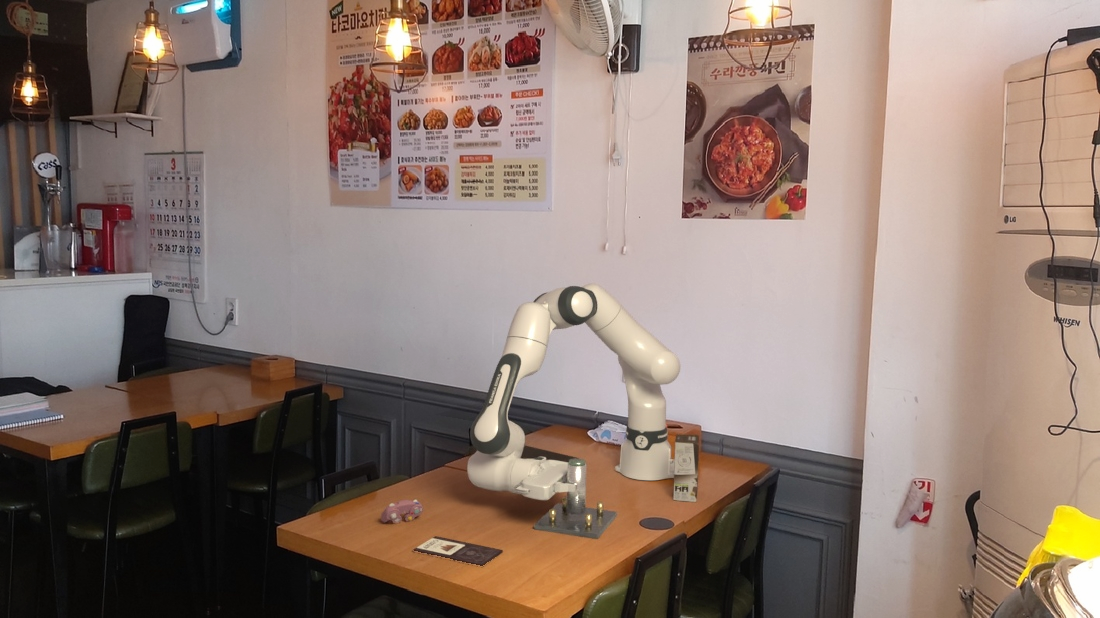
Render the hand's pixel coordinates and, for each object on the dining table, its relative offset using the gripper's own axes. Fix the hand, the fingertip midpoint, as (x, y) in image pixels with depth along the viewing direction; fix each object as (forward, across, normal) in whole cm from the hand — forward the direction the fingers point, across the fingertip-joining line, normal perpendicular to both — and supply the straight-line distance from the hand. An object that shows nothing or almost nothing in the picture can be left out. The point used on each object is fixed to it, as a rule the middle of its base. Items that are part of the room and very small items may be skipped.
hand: (580, 484), depth 199 cm
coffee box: (+20, +30, +10) cm, 38 cm away
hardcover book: (-30, +44, +11) cm, 54 cm away
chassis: (-1, 0, +10) cm, 10 cm away
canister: (-1, 0, +7) cm, 7 cm away
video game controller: (-41, -16, +10) cm, 45 cm away
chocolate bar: (-20, -27, +11) cm, 35 cm away
